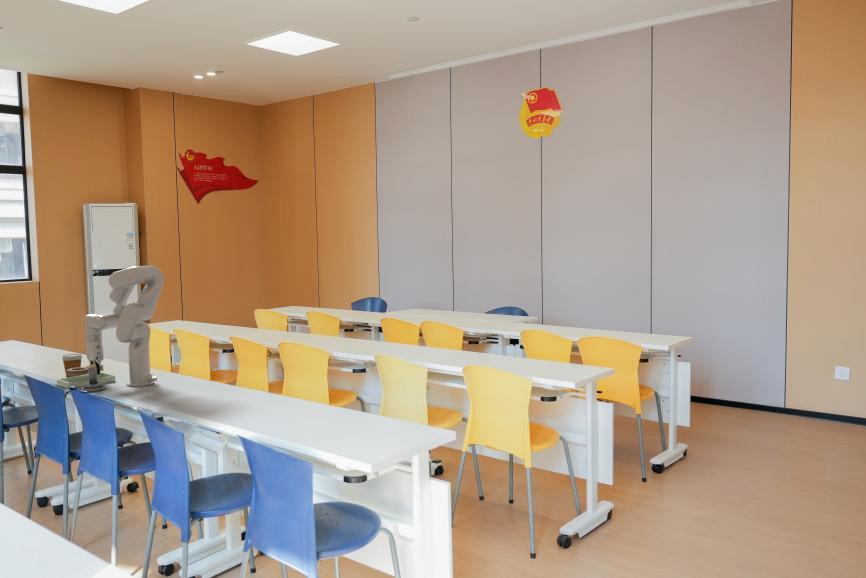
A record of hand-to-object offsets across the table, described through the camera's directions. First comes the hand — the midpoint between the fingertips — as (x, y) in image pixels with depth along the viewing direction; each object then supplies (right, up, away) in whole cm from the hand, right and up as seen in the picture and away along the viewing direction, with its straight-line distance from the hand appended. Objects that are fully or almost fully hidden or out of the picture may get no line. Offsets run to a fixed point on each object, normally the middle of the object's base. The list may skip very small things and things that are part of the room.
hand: (95, 373), depth 353 cm
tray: (-3, -5, -3) cm, 6 cm away
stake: (+8, -6, -19) cm, 21 cm away
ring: (-3, +1, -4) cm, 5 cm away
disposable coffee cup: (-18, -4, +13) cm, 22 cm away
